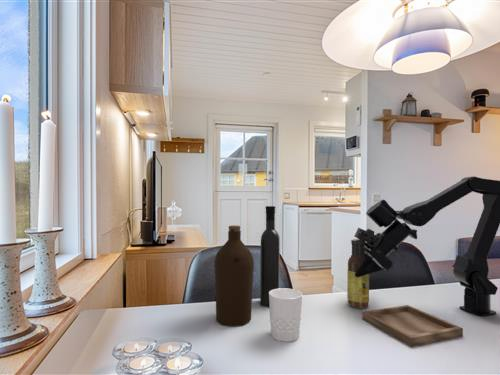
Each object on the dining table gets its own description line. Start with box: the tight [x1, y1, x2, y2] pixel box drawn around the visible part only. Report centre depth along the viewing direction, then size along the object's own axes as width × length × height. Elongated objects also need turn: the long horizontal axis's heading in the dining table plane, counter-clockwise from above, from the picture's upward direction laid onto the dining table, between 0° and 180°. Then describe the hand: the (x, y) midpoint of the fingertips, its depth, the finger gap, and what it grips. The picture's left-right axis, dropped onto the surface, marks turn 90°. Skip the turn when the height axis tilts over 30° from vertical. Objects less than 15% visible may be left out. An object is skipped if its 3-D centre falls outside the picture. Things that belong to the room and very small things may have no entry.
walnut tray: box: [361, 304, 464, 348], centre depth 77 cm, size 16×16×2 cm
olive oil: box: [213, 225, 255, 327], centre depth 82 cm, size 11×11×25 cm
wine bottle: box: [259, 205, 281, 307], centre depth 94 cm, size 6×6×30 cm
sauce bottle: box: [346, 238, 370, 309], centre depth 93 cm, size 6×6×20 cm
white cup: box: [268, 287, 303, 343], centre depth 72 cm, size 8×8×10 cm
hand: (353, 273), depth 93 cm, fingers closed on sauce bottle, 6 cm apart
